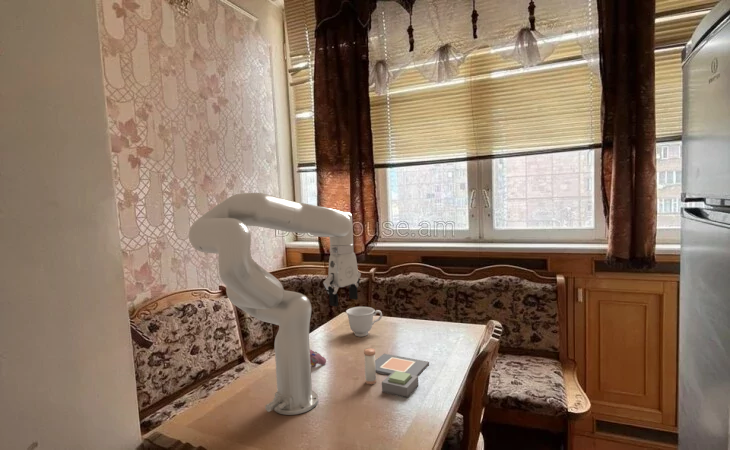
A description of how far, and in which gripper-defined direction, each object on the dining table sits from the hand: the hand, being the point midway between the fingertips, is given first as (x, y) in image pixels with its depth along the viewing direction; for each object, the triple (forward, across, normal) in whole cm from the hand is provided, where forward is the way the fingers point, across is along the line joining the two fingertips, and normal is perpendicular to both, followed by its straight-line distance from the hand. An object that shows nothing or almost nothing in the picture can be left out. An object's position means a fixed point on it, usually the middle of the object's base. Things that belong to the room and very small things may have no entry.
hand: (344, 302), depth 128 cm
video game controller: (+23, -3, +14) cm, 27 cm away
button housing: (+23, -1, -21) cm, 31 cm away
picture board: (+23, +11, -13) cm, 28 cm away
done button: (+21, -1, -21) cm, 30 cm away
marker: (+23, -2, -11) cm, 26 cm away
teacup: (+23, +31, +16) cm, 41 cm away
